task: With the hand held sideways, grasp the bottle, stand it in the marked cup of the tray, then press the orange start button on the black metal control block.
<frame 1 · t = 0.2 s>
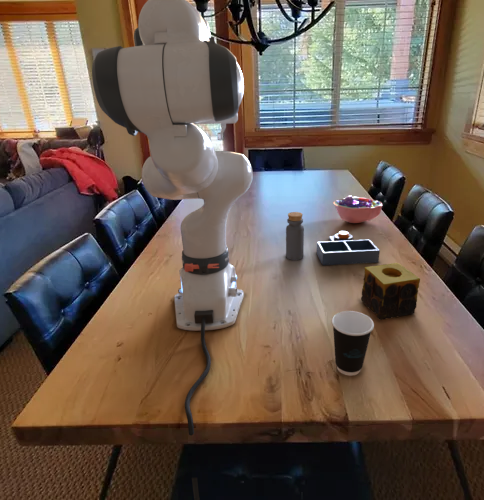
hand: (204, 140, 108), 39 cm above the table, tool pointing down, fingers open, 8 cm apart
bottle: (294, 257, 126), on the table
tray: (346, 257, 124), on the table
control block: (342, 243, 135), on the table
start button: (343, 234, 134), point 3 cm above the table, slide at 0.1 cm
dixie cup: (348, 368, 76), on the table
cell model: (356, 222, 157), on the table
candle: (386, 307, 96), on the table
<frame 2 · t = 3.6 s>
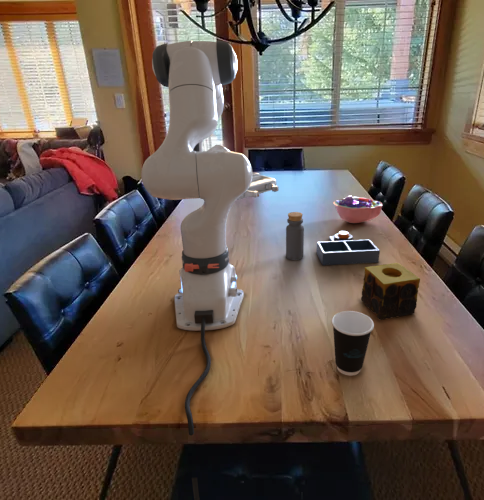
hand: (267, 191, 125), 20 cm above the table, tool horizontal, fingers open, 8 cm apart
nothing on the table moved.
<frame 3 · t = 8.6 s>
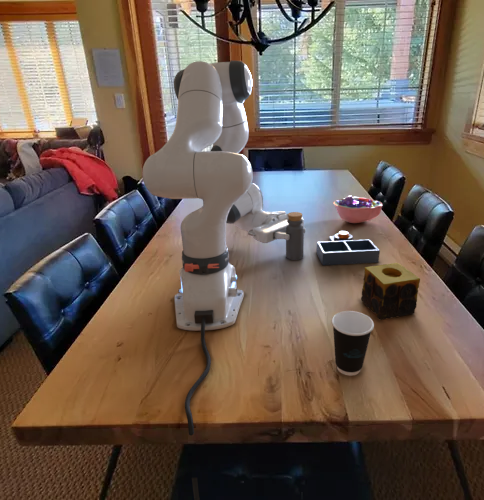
hand: (297, 234, 122), 8 cm above the table, tool horizontal, fingers closed on bottle, 6 cm apart
bottle: (294, 257, 126), on the table, touching gripper
everything else where it was.
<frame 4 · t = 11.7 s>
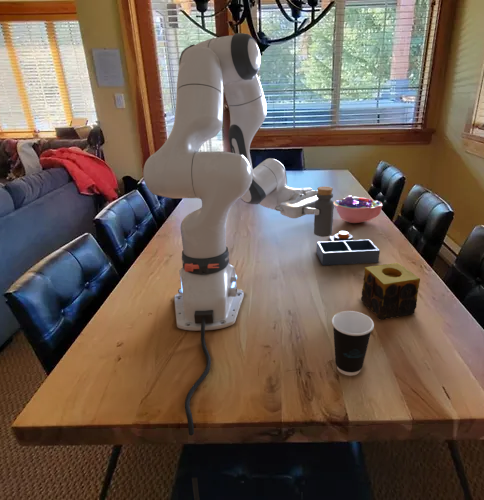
hand: (326, 209, 117), 17 cm above the table, tool horizontal, fingers closed on bottle, 6 cm apart
bottle: (322, 234, 121), point 8 cm above the table, touching gripper
everything else where it was.
when the fingers open (9 cm above the table, at t = 14.9 s): bottle stays where it is, resting on tray.
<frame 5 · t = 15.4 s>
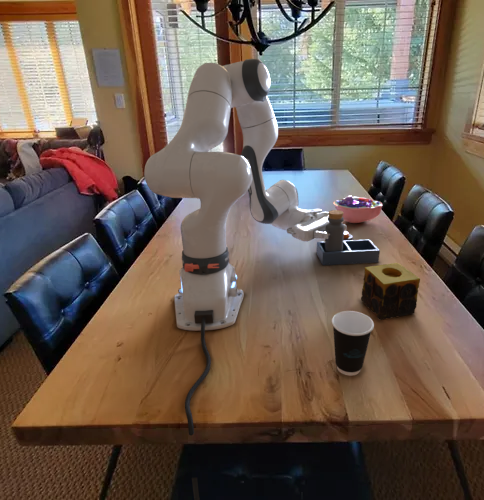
hand: (337, 232, 120), 10 cm above the table, tool horizontal, fingers open, 8 cm apart
bottle: (333, 255, 124), point 1 cm above the table, touching tray
everything else where it was.
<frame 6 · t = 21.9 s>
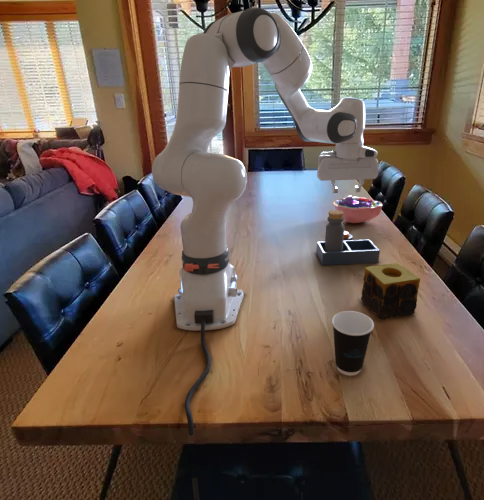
hand: (346, 192, 128), 19 cm above the table, tool pointing down, fingers open, 6 cm apart
nothing on the table moved.
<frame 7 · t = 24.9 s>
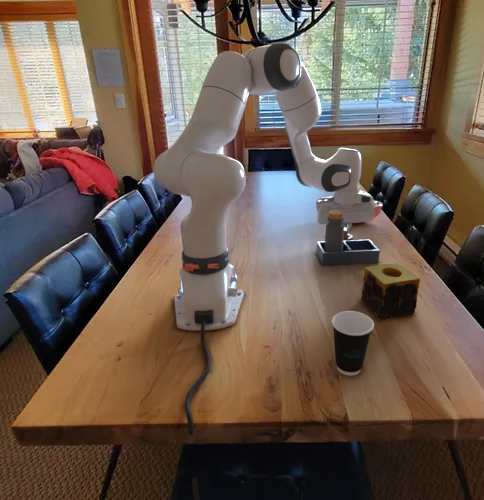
hand: (343, 233, 134), 4 cm above the table, tool pointing down, fingers closed, pressing on start button
start button: (343, 236, 134), point 3 cm above the table, slide at -0.5 cm, touching gripper
everything else where it was.
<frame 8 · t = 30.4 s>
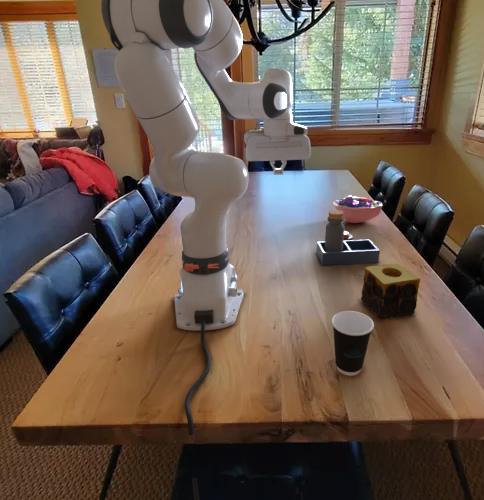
hand: (278, 174, 118), 27 cm above the table, tool pointing down, fingers closed
start button: (343, 234, 134), point 3 cm above the table, slide at 0.1 cm
everything else where it was.
at the end: bottle 0.2 cm from the target spot in the tray, point 0.8 cm above the tray's base; start button pushed in 1.1 cm at the most during the clip, back to where it started at the end; start button slide at 0.1 cm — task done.
